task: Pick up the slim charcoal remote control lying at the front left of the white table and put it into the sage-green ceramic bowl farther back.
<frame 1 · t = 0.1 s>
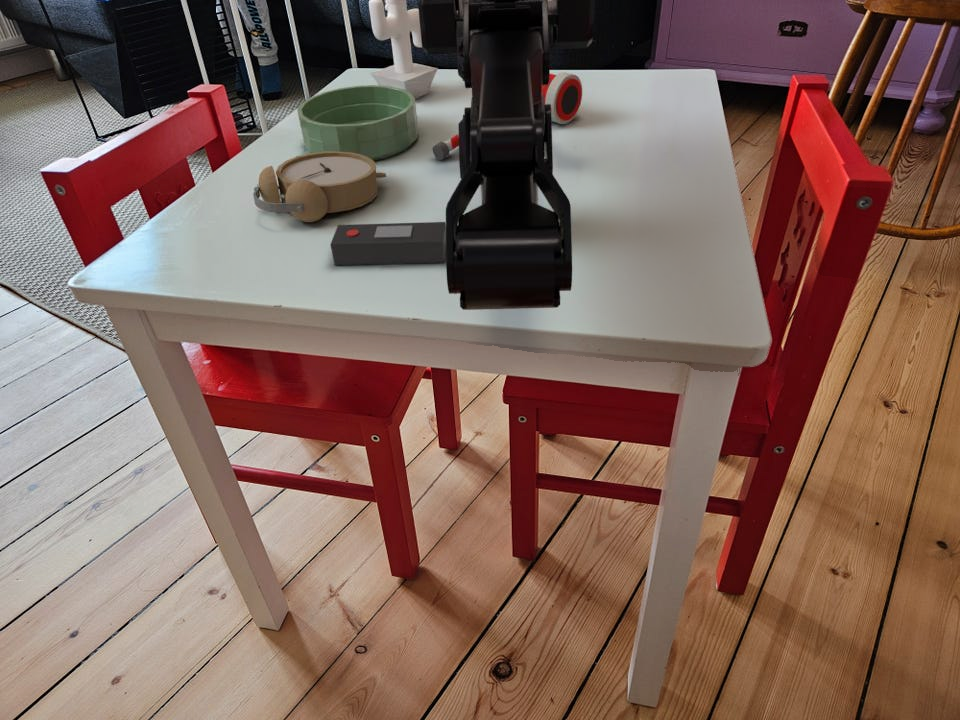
hand: (506, 1, 83), 17 cm above the table, tool horizontal, fingers open, 9 cm apart
bowl: (362, 141, 95), on the table
toy hammer: (510, 129, 96), on the table
alarm clock: (319, 203, 81), on the table
figurine: (407, 96, 109), on the table
remote: (391, 253, 71), on the table
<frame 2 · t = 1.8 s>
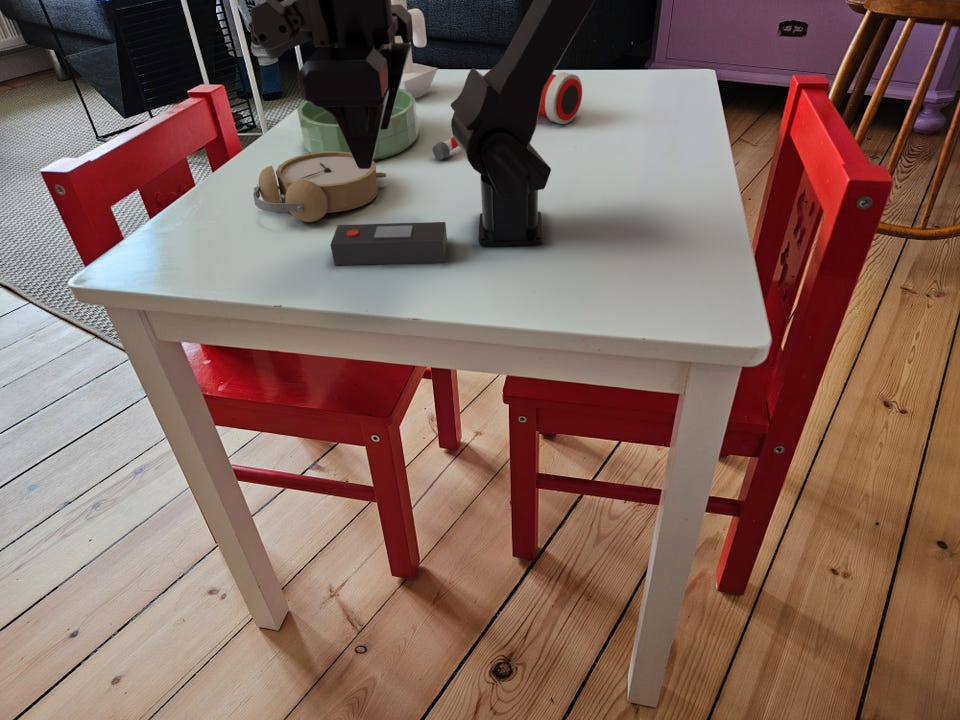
hand: (374, 147, 64), 11 cm above the table, tool pointing down, fingers open, 9 cm apart
nothing on the table moved.
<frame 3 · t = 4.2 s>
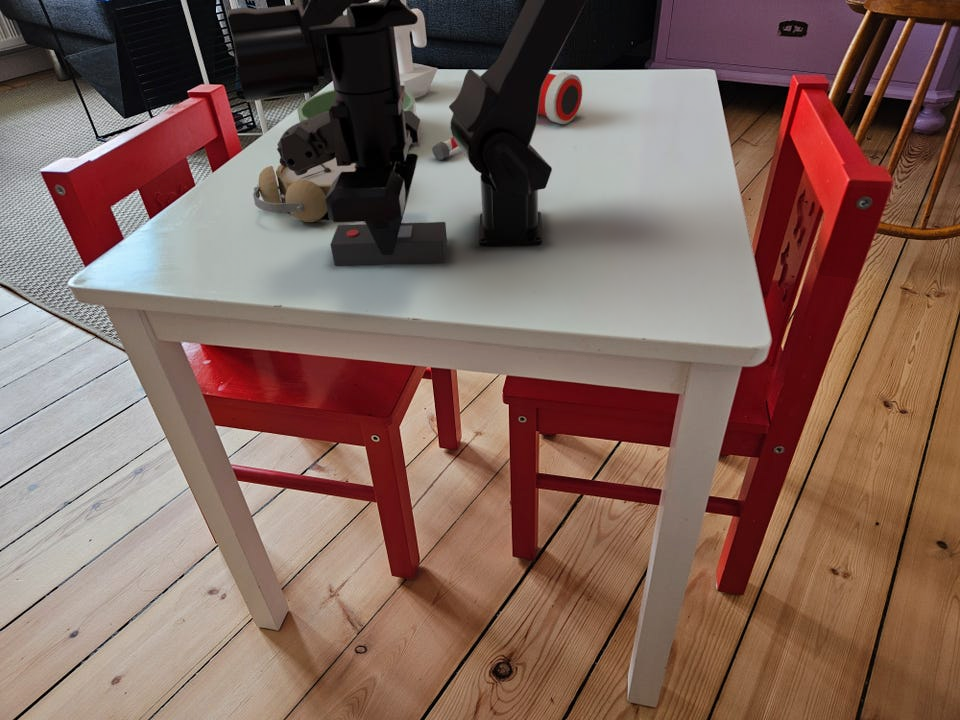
hand: (390, 243, 70), 1 cm above the table, tool pointing down, fingers closed on remote, 4 cm apart
remote: (391, 253, 71), on the table, touching gripper
everything else where it was.
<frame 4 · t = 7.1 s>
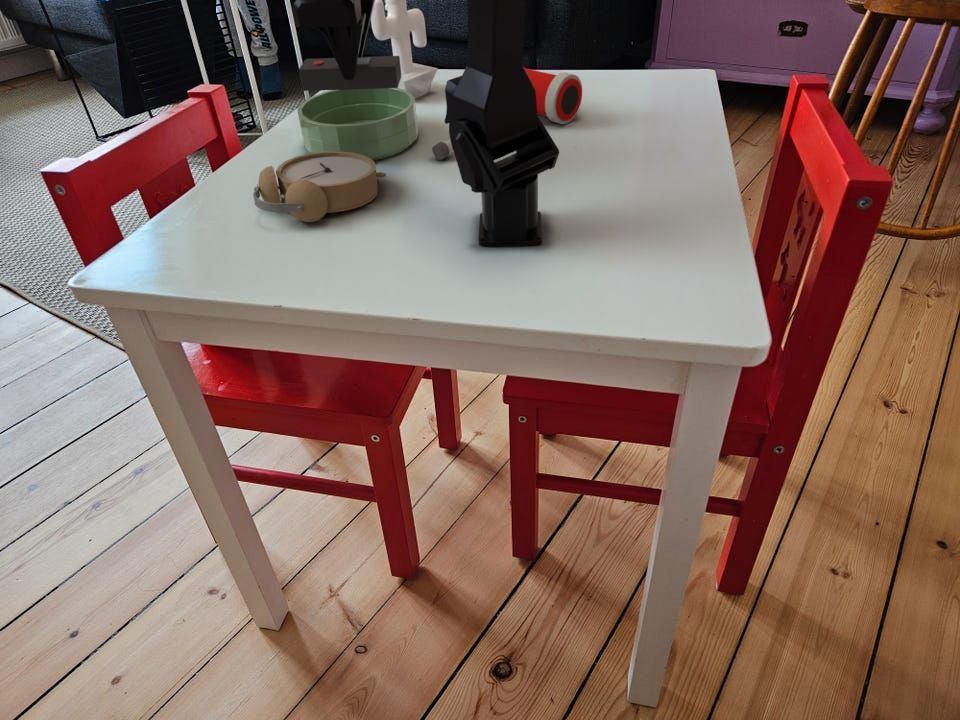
hand: (352, 73, 81), 11 cm above the table, tool pointing down, fingers closed on remote, 4 cm apart
remote: (352, 83, 82), point 10 cm above the table, touching gripper
everything else where it was.
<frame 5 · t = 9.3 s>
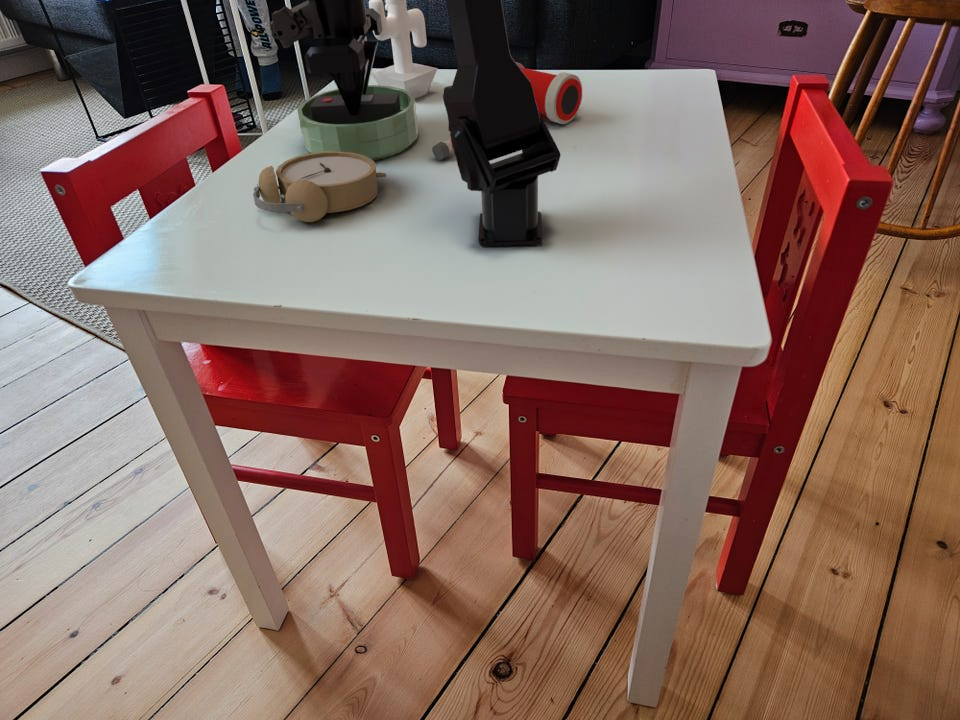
hand: (357, 108, 92), 4 cm above the table, tool pointing down, fingers closed on remote, 4 cm apart
remote: (357, 117, 93), point 3 cm above the table, touching gripper
everything else where it was.
when the fingers open (2 cm above the table, at t = 10.5 s): remote stays where it is, resting on bowl.
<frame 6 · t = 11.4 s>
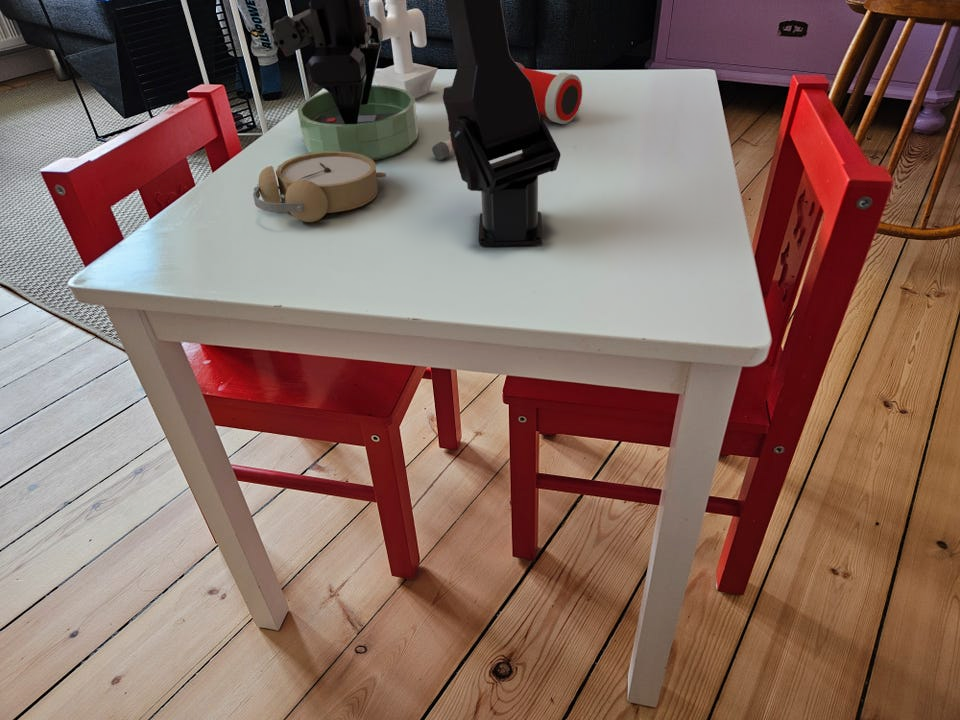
hand: (358, 116, 93), 3 cm above the table, tool pointing down, fingers open, 9 cm apart
remote: (360, 137, 94), point 1 cm above the table, touching bowl
everything else where it was.
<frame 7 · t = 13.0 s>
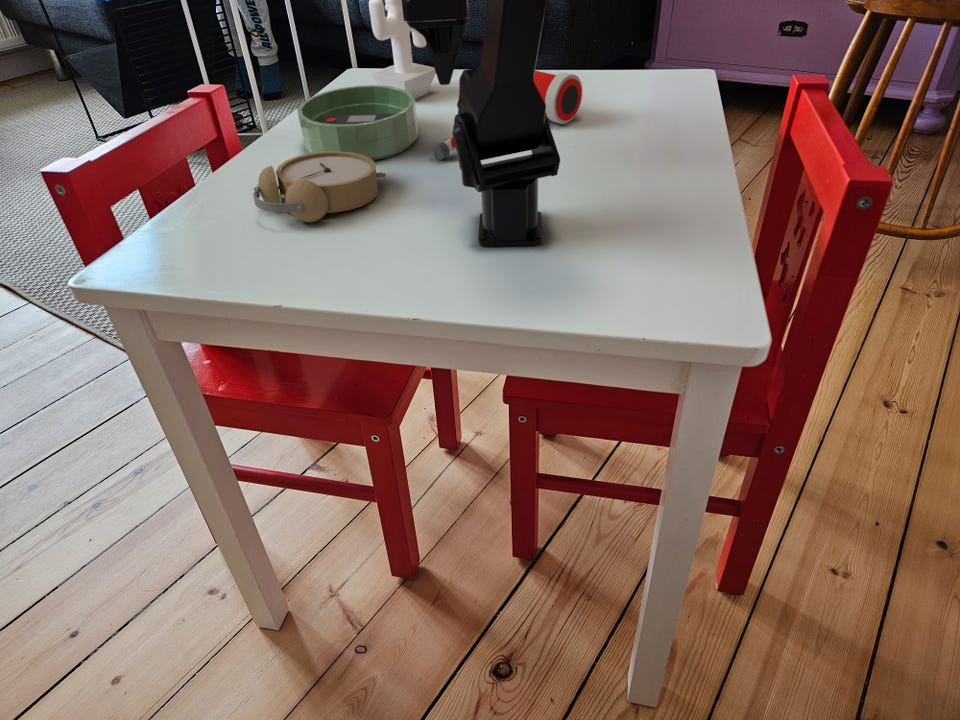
hand: (447, 71, 79), 12 cm above the table, tool pointing down, fingers open, 9 cm apart
nothing on the table moved.
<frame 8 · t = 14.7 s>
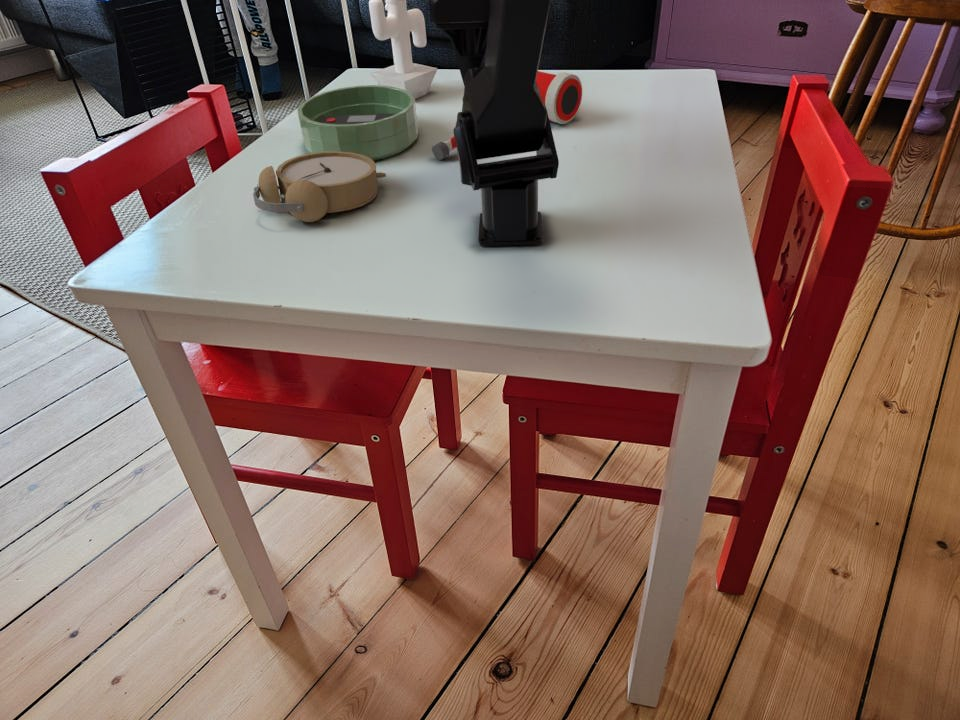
hand: (471, 72, 77), 12 cm above the table, tool pointing down, fingers open, 9 cm apart
nothing on the table moved.
at the end: remote inside the target area in the bowl (0.1 cm from its centre), point 0.6 cm above the bowl's base; the gripper is holding nothing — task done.
